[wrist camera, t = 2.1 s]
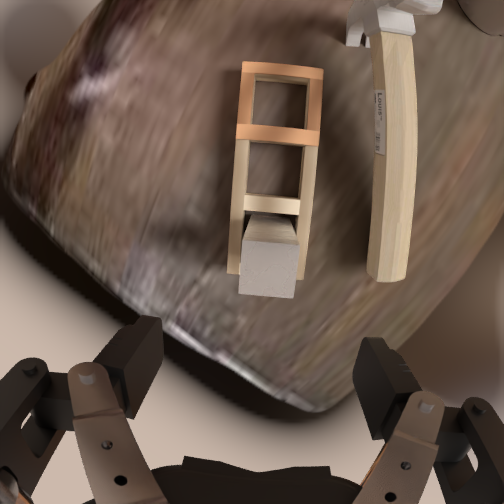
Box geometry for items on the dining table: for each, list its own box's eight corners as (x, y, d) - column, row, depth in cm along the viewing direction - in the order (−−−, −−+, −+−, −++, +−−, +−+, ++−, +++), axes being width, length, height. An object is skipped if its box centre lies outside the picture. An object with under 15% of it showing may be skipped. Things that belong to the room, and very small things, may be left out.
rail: (319, 76, 28) (323, 69, 25) (300, 272, 34) (303, 281, 31) (244, 69, 28) (242, 61, 25) (229, 265, 34) (226, 274, 31)
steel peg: (288, 217, 32) (300, 245, 21) (285, 253, 33) (293, 298, 22) (251, 214, 32) (242, 240, 21) (248, 250, 33) (238, 293, 22)
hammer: (431, 312, 24) (442, -32, 10) (387, 318, 25) (387, -47, 10) (380, 237, 38) (375, 9, 24) (348, 239, 38) (338, 5, 24)
